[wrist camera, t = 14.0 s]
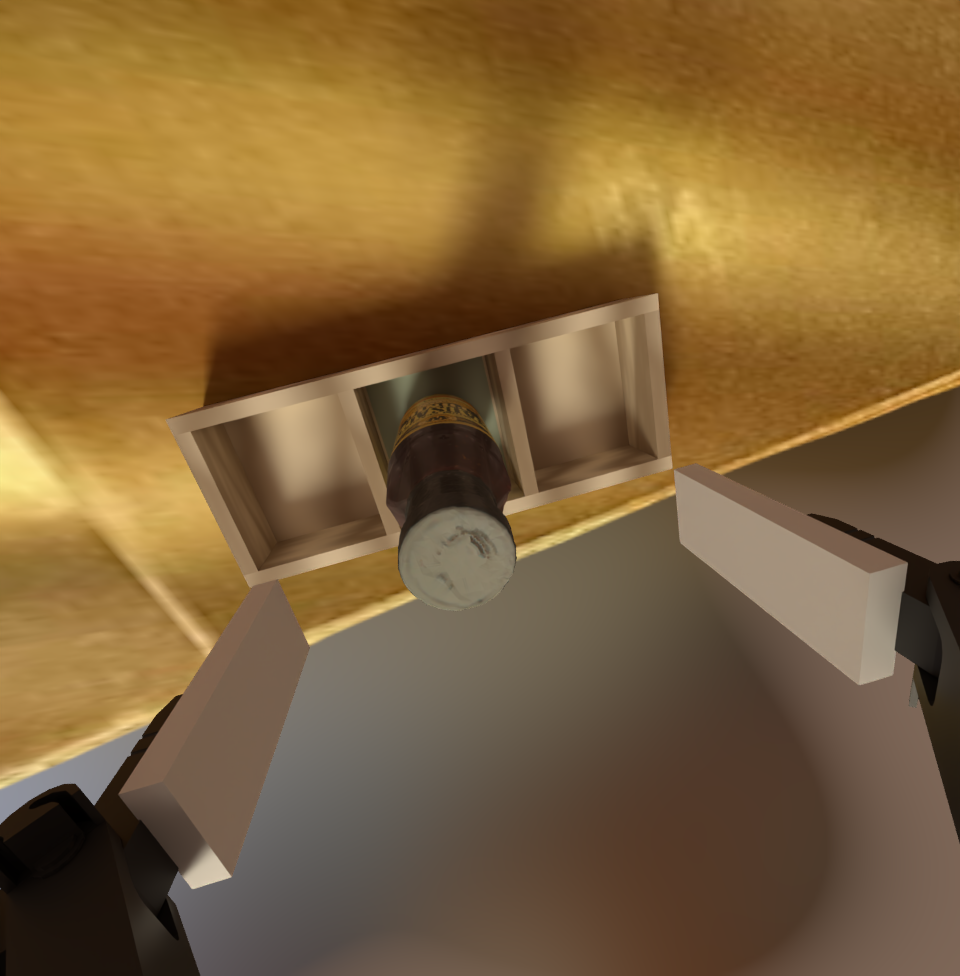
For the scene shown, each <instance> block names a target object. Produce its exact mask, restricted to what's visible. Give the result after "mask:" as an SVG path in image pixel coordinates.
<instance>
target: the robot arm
mask: <svg viewBox="0 0 960 976" xmlns="http://www.w3.org/2000/svg"><path fill="white" fill-rule="evenodd" d="M674 475H675V487H676V500H677V511H678V523H679V536H680V543H681V544H682V545H684V546H685V547H686V548H687V549H689V550H690V551H691V552H692V553H694V554H695V555H696V556H697V557H699V558H700V559H701V560H702V561H704V562H705V563H706V564H708V565H709V566H710V567H711V568H713V569H714V570H715V571H716V572H717V573H719V574H720V575H721V576H722V577H724V578H725V579H726V580H728V581H729V582H730V583H731V584H733V585H734V586H735V587H736V588H738V589H739V590H740V591H741V592H743V593H744V594H745V595H746V596H748V597H749V598H750V599H751V600H753V601H754V602H755V603H756V604H758V605H759V606H760V607H761V608H763V609H764V610H765V611H766V612H768V613H769V614H770V615H771V616H773V617H774V618H775V619H776V620H778V621H779V622H780V623H781V624H783V625H784V626H785V627H786V628H788V629H789V630H790V631H791V632H793V633H794V634H795V635H797V636H798V637H799V638H800V639H802V640H803V641H804V642H805V643H806V644H808V645H809V646H810V647H811V648H813V649H814V650H815V651H816V652H818V653H819V654H820V655H821V656H823V657H824V658H825V659H826V660H828V661H829V662H830V663H831V664H833V665H834V666H835V667H837V668H838V669H839V670H840V671H842V672H843V673H844V674H845V675H846V676H848V677H849V678H850V679H852V680H853V681H854V682H855V683H857V684H858V685H862V684H865V683H868V682H872V681H875V680H878V679H881V678H885V677H888V676H891V675H893V671H894V664H895V656H896V651H897V652H898V653H900V654H901V655H903V656H904V657H906V658H907V659H909V660H910V661H912V662H913V663H915V667H914V673H913V680H912V686H911V693H910V700H909V706H910V707H915V708H916V707H917V701H918V699H919V701H920V704H921V708H922V711H923V715H924V718H925V722H926V725H927V729H928V732H929V736H930V739H931V743H932V746H933V750H934V754H935V757H936V761H937V764H938V768H939V771H940V775H941V778H942V782H943V786H944V789H945V793H946V796H947V800H948V803H949V807H950V810H951V814H952V817H953V821H954V825H955V828H956V832H957V835H958V839H959V842H960V561H949V562H944V563H939V564H936V563H934V562H932V561H929V560H927V559H925V558H923V557H921V556H918V555H916V554H914V553H912V552H909V551H907V550H905V549H903V548H900V547H898V546H896V545H893V544H891V543H889V542H887V541H885V540H882V539H880V538H874V536H873V535H871V534H869V533H866V532H864V531H862V530H859V531H858V530H857V528H855V527H853V526H851V525H849V524H846V523H844V522H842V521H839V520H837V519H833V518H829V517H825V516H821V515H816V514H808V515H805V514H803V513H801V512H799V511H797V510H794V509H792V508H790V507H788V506H786V505H784V504H782V503H780V502H777V501H775V500H773V499H771V498H769V497H767V496H765V495H762V494H760V493H758V492H756V491H754V490H752V489H750V488H748V487H745V486H743V485H741V484H738V483H737V482H735V481H733V480H730V479H728V478H726V477H724V476H722V475H720V474H718V473H716V472H713V471H711V470H709V469H707V468H705V467H703V466H701V465H698V464H692V465H689V466H685V467H681V468H678V469H674ZM309 649H310V647H309V645H308V643H307V641H306V639H305V636H304V634H303V632H302V630H301V628H300V626H299V624H298V622H297V619H296V617H295V615H294V613H293V611H292V609H291V607H290V605H289V602H288V600H287V598H286V596H285V594H284V592H283V590H282V588H281V586H280V583H279V581H278V579H276V580H272V581H269V582H265V583H261V584H258V585H254V586H253V587H252V588H251V590H250V592H249V593H248V595H247V596H246V598H245V599H244V601H243V602H242V604H241V605H240V607H239V609H238V610H237V612H236V613H235V615H234V616H233V618H232V619H231V621H230V622H229V624H228V625H227V627H226V629H225V630H224V632H223V633H222V635H221V636H220V638H219V639H218V641H217V642H216V644H215V646H214V647H213V649H212V650H211V652H210V653H209V655H208V656H207V658H206V659H205V661H204V663H203V664H202V666H201V667H200V669H199V670H198V672H197V673H196V675H195V676H194V678H193V680H192V681H191V683H190V684H189V686H188V687H187V689H186V690H185V692H184V693H183V694H182V695H178V696H176V697H174V698H173V699H172V700H171V701H170V702H169V703H168V704H167V705H166V706H165V707H164V708H163V709H162V710H161V711H160V712H159V713H158V714H157V715H156V716H155V718H154V719H153V721H152V722H151V723H150V725H149V726H148V728H147V729H146V731H145V732H144V734H143V735H142V737H143V738H142V739H140V740H139V741H138V743H137V744H136V745H135V747H134V748H133V750H132V752H131V756H129V757H127V759H126V760H125V762H124V763H123V764H122V766H121V767H120V769H119V770H118V772H117V774H116V775H115V776H114V778H113V779H112V781H111V782H110V784H109V785H108V786H107V788H106V789H105V791H104V792H103V794H102V795H101V797H100V798H99V800H98V801H97V803H96V804H95V806H94V805H93V804H92V803H91V802H90V800H89V799H88V798H87V797H86V796H85V794H84V793H83V792H82V791H81V790H80V788H79V787H78V786H77V785H76V784H63V785H60V786H57V787H54V788H52V789H49V790H47V791H46V792H44V793H42V794H40V795H38V796H37V797H35V798H33V799H31V800H30V801H28V802H27V803H26V804H25V805H23V806H22V807H20V808H19V809H18V810H16V811H15V812H14V813H12V814H11V815H10V816H9V817H8V818H7V819H5V821H4V822H2V823H1V825H0V888H1V889H0V976H200V973H199V970H198V967H197V965H196V962H195V959H194V956H193V953H192V950H191V947H190V944H189V941H188V938H187V936H186V933H185V930H184V927H183V924H182V921H181V918H180V915H179V912H178V910H177V907H176V905H175V903H174V902H173V901H172V900H171V898H170V897H169V896H168V895H167V894H168V892H169V890H170V887H171V885H172V883H173V880H174V878H175V876H176V874H177V872H178V871H179V873H180V874H181V875H182V876H183V878H184V879H185V880H186V882H187V883H188V884H189V885H190V887H191V888H192V889H194V888H197V887H201V886H204V885H208V884H211V883H214V882H217V881H221V880H224V879H227V878H230V877H232V875H233V872H234V869H235V866H236V863H237V860H238V857H239V854H240V851H241V848H242V846H243V843H244V840H245V837H246V834H247V831H248V828H249V825H250V822H251V819H252V816H253V813H254V810H255V807H256V804H257V801H258V799H259V796H260V793H261V790H262V787H263V784H264V781H265V778H266V775H267V772H268V769H269V766H270V763H271V760H272V757H273V754H274V752H275V749H276V745H277V743H278V739H279V737H280V734H281V731H282V728H283V725H284V722H285V719H286V716H287V713H288V710H289V707H290V704H291V702H292V699H293V696H294V693H295V689H296V687H297V684H298V681H299V678H300V675H301V672H302V669H303V666H304V663H305V660H306V657H307V655H308V651H309Z"/></svg>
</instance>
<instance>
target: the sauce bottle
mask: <svg viewBox="0 0 960 976" xmlns="http://www.w3.org/2000/svg"><path fill="white" fill-rule="evenodd" d="M510 491H511V480H510V478H509V475H508V472H507V470H506V467H505V464H504V461H503V457H502V454H501V451H500V449H499V447H498V445H497V444H496V442H495V440H494V438H493V437H492V435H491V433H490V432H489V430H488V428H487V427H486V425H485V423H484V421H483V419H482V418H481V416H480V415H479V413H478V412H477V411H476V409H475V408H474V407H473V406H472V405H471V404H470V403H469V402H467V401H465V400H463V399H462V398H459V397H457V396H453V395H448V394H434V395H431V396H427V397H424V398H422V399H420V400H418V401H417V402H415V403H414V404H413V405H412V406H411V407H410V408H409V409H408V410H407V412H406V413H405V414H404V416H403V418H402V420H401V423H400V426H399V429H398V433H397V437H396V440H395V444H394V447H393V450H392V454H391V457H390V460H389V464H388V474H387V494H386V505H387V507H388V508H389V510H390V511H391V513H392V514H393V516H394V517H395V519H396V521H397V522H398V524H399V525H400V526H401V528H402V529H401V532H400V537H399V545H398V569H399V572H400V575H401V578H402V580H403V582H404V584H405V585H406V587H407V588H408V589H409V591H410V592H411V593H412V594H413V595H414V596H415V597H417V598H418V599H420V600H422V601H423V602H424V603H425V604H427V605H431V606H433V607H435V608H438V609H444V610H450V611H460V610H465V609H468V608H472V607H476V606H480V605H483V604H485V603H487V602H488V601H490V600H492V599H493V598H494V597H496V596H497V595H498V594H499V593H500V592H501V591H502V589H503V588H504V586H505V585H506V584H507V583H508V581H509V579H510V577H511V575H512V573H513V572H514V568H515V563H516V559H517V557H516V545H515V543H514V539H513V535H512V531H511V527H510V525H509V522H508V520H507V518H506V517H505V515H504V514H503V509H504V505H505V503H506V502H507V498H508V494H509V492H510Z"/></svg>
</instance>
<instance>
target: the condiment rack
mask: <svg viewBox="0 0 960 976" xmlns="http://www.w3.org/2000/svg"><path fill="white" fill-rule="evenodd" d="M434 394H448V395H453V396H457V397H459V398H462V399H463V400H465V401H467V402H469V403H470V404H471V405H472V406H473V407H474V408H475V409H476V411H477V412H478V413H479V415H480V416H481V418H482V419H483V421H484V423H485V425H486V427H487V428H488V430H489V432H490V433H491V435H492V437H493V438H494V440H495V442H496V444H497V445H498V447H499V449H500V451H501V454H502V457H503V461H504V464H505V467H506V470H507V472H508V475H509V478H510V480H511V491H510V492H509V494H508V498H507V502H506V503H505V505H504V509H503V514H504V515H505V516H506V515H509V514H513V513H516V512H520V511H523V510H527V509H530V508H534V507H538V506H541V505H545V504H548V503H552V502H555V501H559V500H562V499H566V498H569V497H573V496H577V495H580V494H584V493H587V492H591V491H594V490H598V489H601V488H605V487H608V486H612V485H615V484H619V483H623V482H626V481H630V480H633V479H637V478H640V477H644V476H647V475H651V474H654V473H658V472H662V471H665V470H669V469H672V458H671V446H670V434H669V422H668V410H667V398H666V386H665V374H664V362H663V350H662V338H661V326H660V314H659V302H658V293H656V294H650V295H644V296H638V297H632V298H626V299H621V300H617V301H613V302H609V303H605V304H602V305H598V306H594V307H590V308H586V309H582V310H578V311H574V312H570V313H566V314H563V315H559V316H555V317H551V318H547V319H543V320H539V321H535V322H531V323H528V324H524V325H520V326H516V327H512V328H508V329H504V330H500V331H496V332H492V333H489V334H485V335H481V336H477V337H473V338H469V339H465V340H461V341H457V342H454V343H450V344H446V345H442V346H438V347H434V348H430V349H426V350H422V351H418V352H415V353H411V354H407V355H403V356H399V357H395V358H391V359H387V360H383V361H379V362H376V363H372V364H368V365H364V366H360V367H356V368H352V369H348V370H344V371H341V372H337V373H333V374H329V375H325V376H321V377H317V378H313V379H309V380H305V381H302V382H298V383H294V384H290V385H286V386H282V387H278V388H274V389H270V390H267V391H263V392H259V393H255V394H251V395H247V396H243V397H239V398H235V399H231V400H228V401H224V402H220V403H216V404H212V405H208V406H204V407H201V408H198V409H195V410H192V411H189V412H187V413H184V414H181V415H178V416H175V417H172V418H169V419H166V422H167V424H168V426H169V428H170V430H171V432H172V434H173V436H174V438H175V440H176V442H177V444H178V446H179V448H180V450H181V452H182V454H183V456H184V458H185V460H186V462H187V464H188V466H189V468H190V470H191V472H192V474H193V476H194V478H195V480H196V482H197V484H198V486H199V488H200V490H201V492H202V494H203V496H204V498H205V500H206V502H207V504H208V506H209V508H210V510H211V512H212V514H213V516H214V517H215V519H216V521H217V523H218V525H219V527H220V529H221V531H222V533H223V535H224V537H225V539H226V541H227V543H228V545H229V547H230V549H231V551H232V553H233V555H234V557H235V559H236V561H237V563H238V565H239V567H240V569H241V571H242V573H243V575H244V577H245V579H246V581H247V583H248V585H249V587H250V588H251V587H253V586H254V585H258V584H261V583H265V582H269V581H272V580H276V579H278V580H279V579H282V578H286V577H290V576H293V575H297V574H300V573H304V572H307V571H311V570H314V569H318V568H321V567H325V566H329V565H332V564H336V563H339V562H343V561H346V560H350V559H353V558H357V557H360V556H364V555H368V554H371V553H375V552H378V551H382V550H385V549H389V548H392V547H396V546H398V545H399V537H400V532H401V529H402V528H401V526H400V525H399V524H398V522H397V521H396V519H395V517H394V516H393V514H392V513H391V511H390V510H389V508H388V507H387V505H386V494H387V474H388V464H389V460H390V457H391V454H392V450H393V447H394V444H395V440H396V437H397V433H398V429H399V426H400V423H401V420H402V418H403V416H404V414H405V413H406V412H407V410H408V409H409V408H410V407H411V406H412V405H413V404H414V403H415V402H417V401H418V400H420V399H422V398H424V397H427V396H431V395H434Z"/></svg>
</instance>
